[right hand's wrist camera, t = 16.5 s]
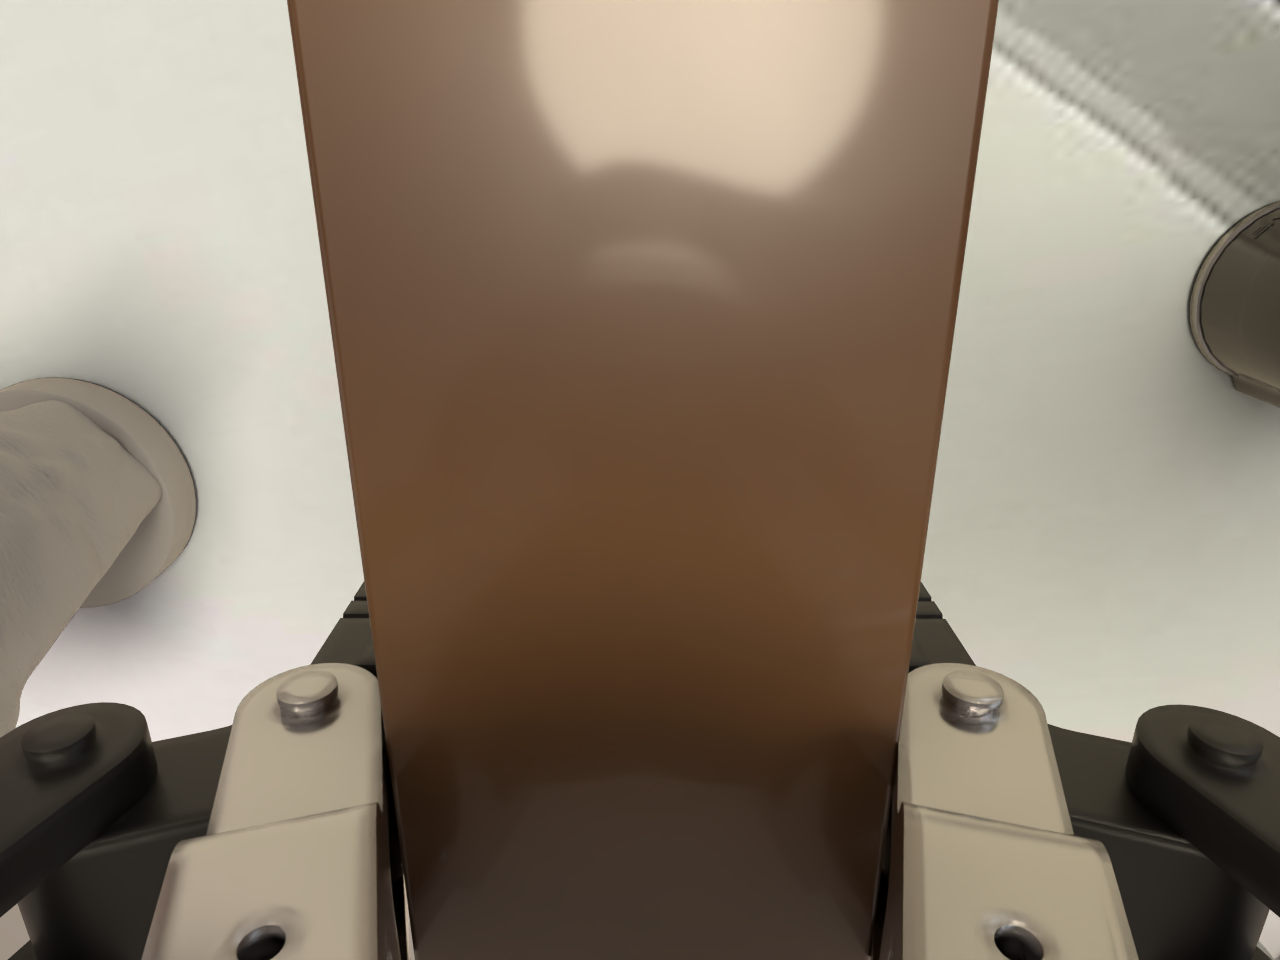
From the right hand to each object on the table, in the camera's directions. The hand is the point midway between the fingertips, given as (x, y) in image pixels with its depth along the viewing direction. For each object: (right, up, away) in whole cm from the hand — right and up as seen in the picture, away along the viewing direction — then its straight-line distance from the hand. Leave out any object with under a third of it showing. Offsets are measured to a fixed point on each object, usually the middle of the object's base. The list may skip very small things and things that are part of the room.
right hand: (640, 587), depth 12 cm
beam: (0, +19, -5) cm, 20 cm away
